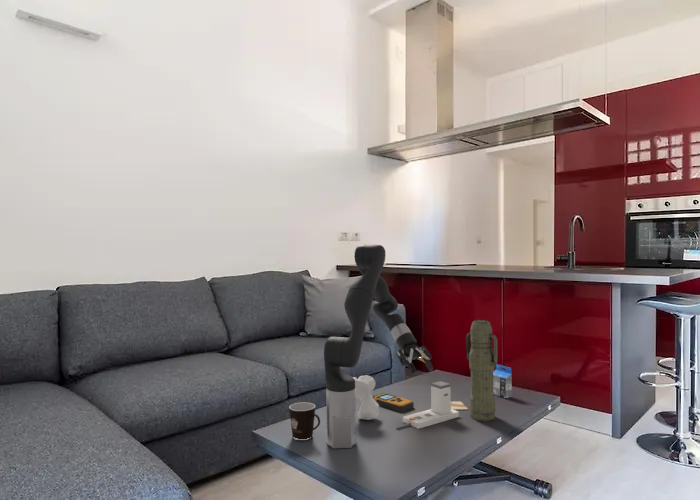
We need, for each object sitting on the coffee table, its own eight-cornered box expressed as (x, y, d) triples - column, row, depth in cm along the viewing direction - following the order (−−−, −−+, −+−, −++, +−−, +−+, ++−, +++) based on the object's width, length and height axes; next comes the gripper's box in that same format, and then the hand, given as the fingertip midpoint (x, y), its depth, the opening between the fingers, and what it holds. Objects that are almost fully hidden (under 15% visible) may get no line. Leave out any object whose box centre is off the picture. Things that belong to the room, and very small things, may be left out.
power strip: (458, 416, 163) (458, 410, 163) (404, 432, 149) (404, 425, 149) (443, 410, 170) (443, 404, 170) (389, 425, 155) (389, 418, 155)
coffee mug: (286, 434, 148) (286, 404, 148) (311, 430, 152) (310, 400, 152) (296, 448, 137) (295, 415, 138) (322, 443, 141) (322, 411, 141)
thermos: (472, 410, 170) (470, 318, 170) (502, 417, 162) (501, 320, 163) (462, 417, 163) (460, 320, 163) (493, 424, 155) (492, 323, 156)
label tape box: (489, 393, 190) (489, 364, 191) (496, 392, 192) (495, 363, 193) (505, 399, 183) (505, 369, 183) (512, 397, 185) (512, 367, 185)
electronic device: (400, 414, 168) (400, 405, 168) (371, 404, 179) (371, 396, 179) (415, 409, 174) (415, 400, 174) (385, 399, 185) (385, 391, 185)
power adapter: (451, 417, 163) (450, 384, 163) (441, 420, 160) (440, 386, 160) (441, 413, 167) (440, 381, 167) (431, 415, 164) (430, 383, 165)
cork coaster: (467, 409, 170) (467, 408, 170) (444, 410, 170) (444, 409, 170) (460, 402, 179) (460, 401, 179) (438, 402, 179) (438, 401, 179)
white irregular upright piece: (370, 426, 155) (370, 382, 155) (343, 420, 161) (343, 378, 161) (383, 417, 163) (383, 376, 163) (357, 412, 169) (357, 372, 169)
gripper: (394, 333, 175) (414, 368, 165) (420, 329, 183) (441, 363, 173) (385, 344, 179) (404, 379, 170) (412, 341, 187) (432, 374, 177)
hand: (423, 371), depth 171 cm, fingers open, 8 cm apart
